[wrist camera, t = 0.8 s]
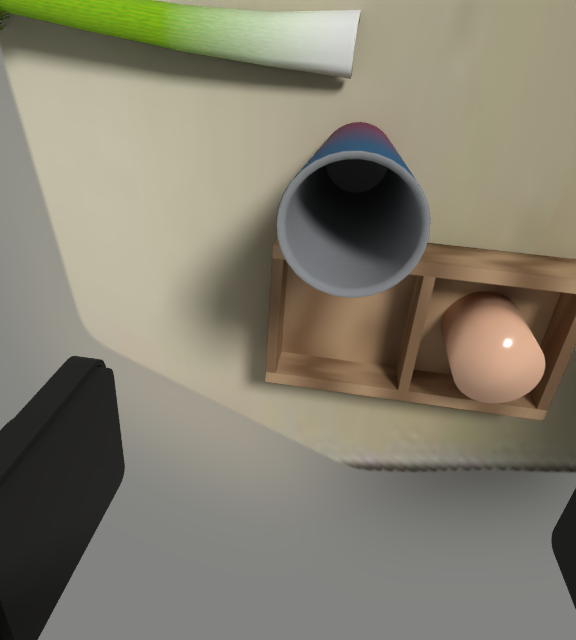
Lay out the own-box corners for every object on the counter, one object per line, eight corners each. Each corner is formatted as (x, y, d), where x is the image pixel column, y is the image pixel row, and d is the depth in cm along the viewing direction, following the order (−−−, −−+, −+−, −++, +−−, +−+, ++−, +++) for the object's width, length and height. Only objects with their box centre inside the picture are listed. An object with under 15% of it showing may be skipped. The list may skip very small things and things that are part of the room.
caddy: (579, 259, 36) (602, 282, 33) (528, 389, 42) (543, 420, 39) (281, 226, 38) (272, 245, 35) (273, 354, 44) (265, 381, 41)
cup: (362, 225, 37) (360, 323, 24) (290, 168, 36) (247, 240, 23) (427, 151, 34) (464, 218, 21) (351, 85, 33) (340, 114, 20)
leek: (343, 102, 35) (-79, 38, 34) (363, -14, 32) (-95, -84, 32) (350, 99, 29) (-155, 23, 29) (374, -41, 27) (-182, -127, 26)
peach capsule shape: (531, 296, 37) (558, 337, 32) (508, 361, 40) (529, 408, 35) (450, 286, 38) (464, 325, 32) (433, 351, 41) (443, 397, 35)
